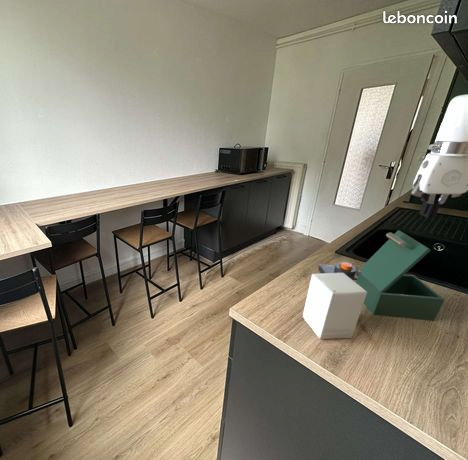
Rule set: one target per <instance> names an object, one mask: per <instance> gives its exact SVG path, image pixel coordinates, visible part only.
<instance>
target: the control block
mask: <svg viewBox="0 0 468 460" xmlns="http://www.w3.org/2000/svg"><path fill="white" fill-rule="evenodd" d="M341 263H342V262H337V263H336V264H335V265H329V264H319V265H318V268H317V269H318V271H319V274H323V273H344V274H345V275H347V276H348V277H349V278H350V279H352V280H353V281H357V279H358V275H357V274H356V273H357V270H358V269H357V268H356V267H355V266H354V265H352V268H351V270H344V269H342V268H340V266H341Z"/></svg>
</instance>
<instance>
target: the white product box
mask: <svg viewBox="0 0 468 460" xmlns="http://www.w3.org/2000/svg"><path fill="white" fill-rule="evenodd" d="M366 295H367V291H365V290H364V289H363V288H362V287H360V286H359V285H358V284H356V282H355V280H352V279H350V278H349V277H348V276H347V275H345V274H344V273H323V274H321V273H312V274H311V276H310V282H309V285H308V291H307V294H306V298H305V299H306V300H305V304H304V307H303V313H302V318H303V319H304V320H305V322H306V323H307V325H308V326H309V327H310V328H311V330H312V331H313V333H314V334H315V335H316V336H317V338H318V339H319V340H331V339H351V338H353V334H354V333H355V329H356V326H357V323H358V321H359V318H360V315H361V312H362V309H363V306H364V301H365V298H366Z"/></svg>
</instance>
